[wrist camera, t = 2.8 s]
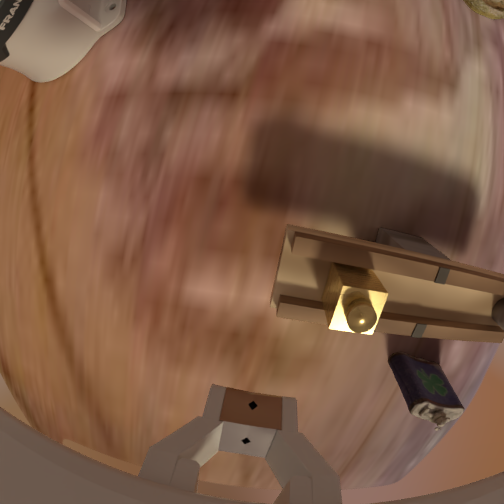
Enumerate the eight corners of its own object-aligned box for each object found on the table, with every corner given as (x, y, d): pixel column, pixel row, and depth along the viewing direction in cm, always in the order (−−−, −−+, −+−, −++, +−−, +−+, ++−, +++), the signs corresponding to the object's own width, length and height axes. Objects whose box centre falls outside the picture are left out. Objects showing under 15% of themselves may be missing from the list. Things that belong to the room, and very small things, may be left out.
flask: (442, 364, 33) (473, 419, 23) (430, 379, 34) (457, 435, 24) (395, 348, 32) (424, 412, 22) (382, 365, 33) (405, 430, 23)
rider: (332, 260, 21) (346, 293, 16) (371, 268, 20) (393, 301, 16) (321, 298, 22) (331, 337, 17) (358, 304, 22) (376, 343, 17)
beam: (284, 206, 28) (289, 243, 17) (482, 254, 27) (540, 296, 17) (272, 266, 30) (268, 330, 19) (464, 301, 29) (512, 353, 19)
